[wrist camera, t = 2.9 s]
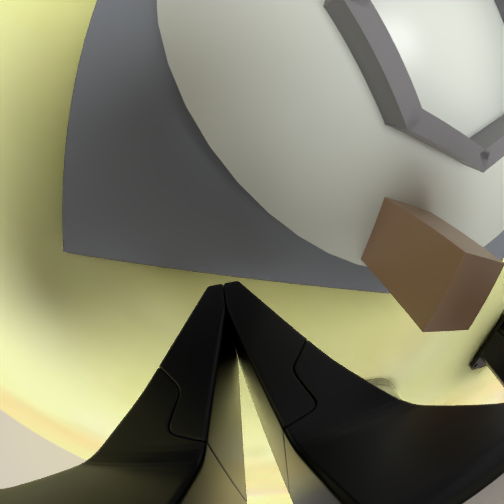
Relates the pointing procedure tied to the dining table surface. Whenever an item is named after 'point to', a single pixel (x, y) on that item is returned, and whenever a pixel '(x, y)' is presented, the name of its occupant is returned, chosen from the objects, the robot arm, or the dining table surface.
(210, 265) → the turntable base
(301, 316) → the dining table surface
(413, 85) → the turntable
